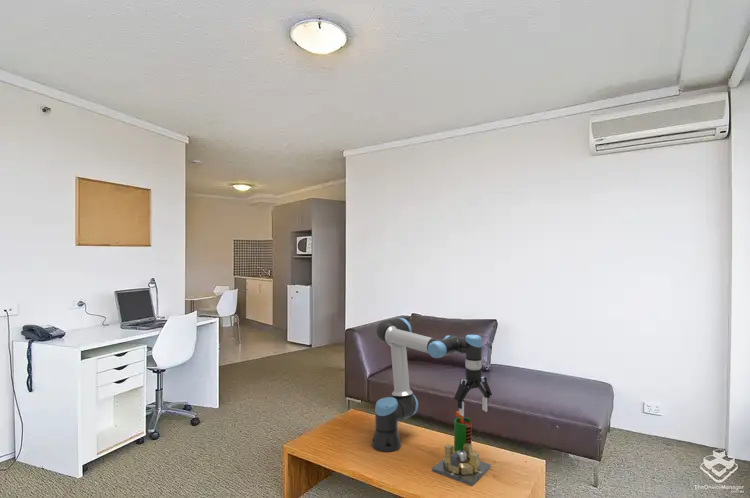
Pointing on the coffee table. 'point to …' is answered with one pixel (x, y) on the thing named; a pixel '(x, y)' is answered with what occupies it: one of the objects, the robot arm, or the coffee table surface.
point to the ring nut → (464, 468)
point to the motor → (461, 431)
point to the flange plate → (466, 479)
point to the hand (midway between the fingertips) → (473, 413)
